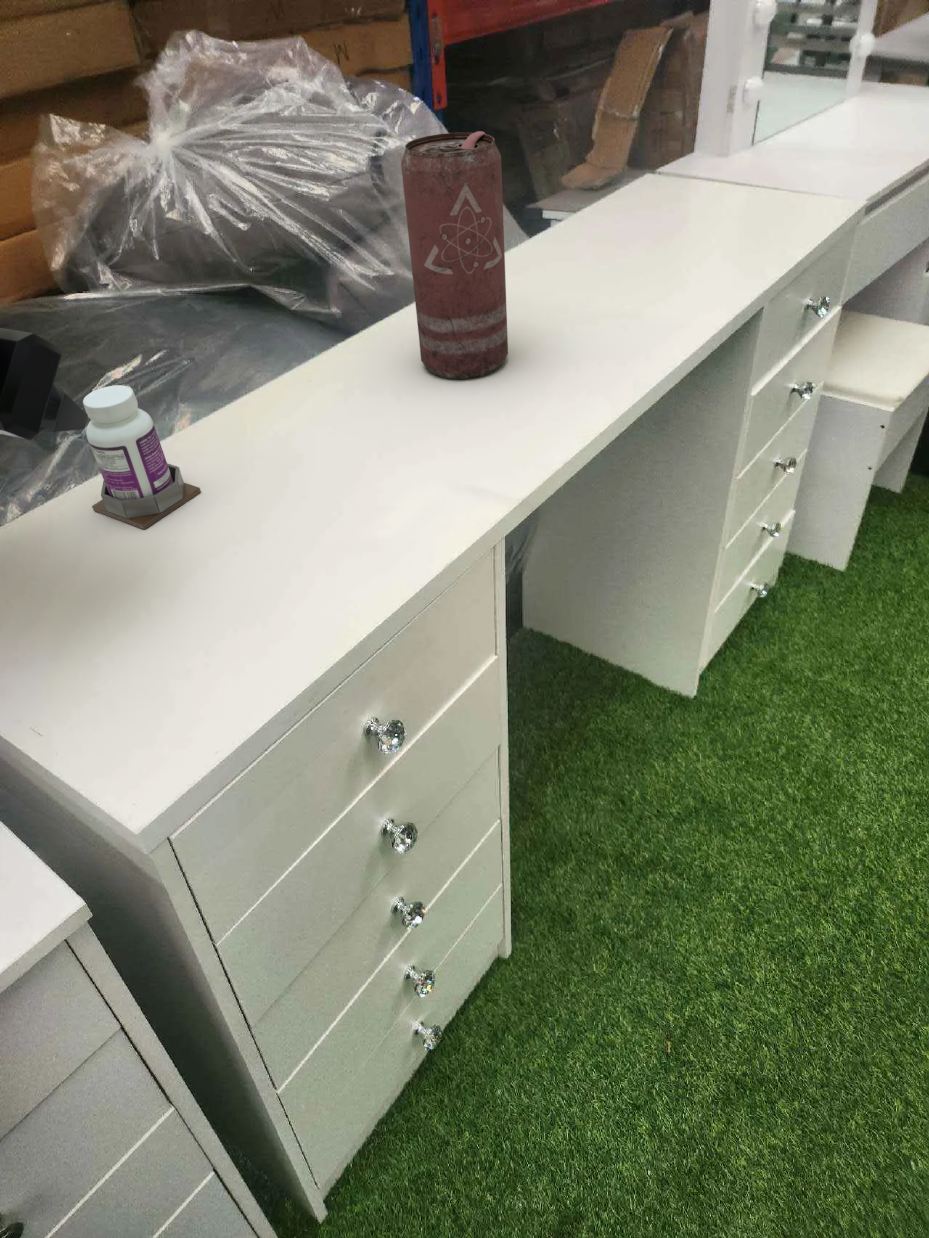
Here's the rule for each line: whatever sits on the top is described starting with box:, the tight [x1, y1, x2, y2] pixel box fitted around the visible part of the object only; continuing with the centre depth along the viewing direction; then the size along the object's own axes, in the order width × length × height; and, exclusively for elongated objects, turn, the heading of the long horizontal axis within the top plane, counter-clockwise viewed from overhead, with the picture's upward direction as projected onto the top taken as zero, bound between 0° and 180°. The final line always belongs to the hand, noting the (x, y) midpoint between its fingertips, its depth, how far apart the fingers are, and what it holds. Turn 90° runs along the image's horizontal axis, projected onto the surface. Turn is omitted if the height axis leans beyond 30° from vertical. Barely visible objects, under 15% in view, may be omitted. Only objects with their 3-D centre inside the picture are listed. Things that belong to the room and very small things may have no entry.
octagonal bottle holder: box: [91, 462, 202, 530], centre depth 76 cm, size 7×7×2 cm
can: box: [400, 130, 509, 380], centre depth 88 cm, size 9×10×22 cm
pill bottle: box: [82, 384, 173, 501], centre depth 73 cm, size 5×5×10 cm
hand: (39, 412), depth 64 cm, fingers open, 9 cm apart
